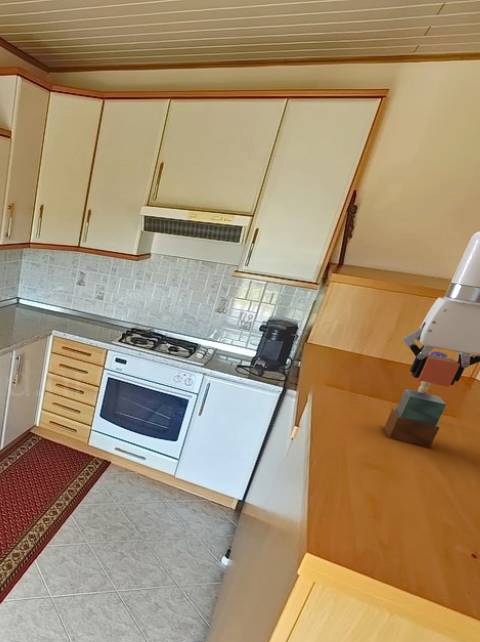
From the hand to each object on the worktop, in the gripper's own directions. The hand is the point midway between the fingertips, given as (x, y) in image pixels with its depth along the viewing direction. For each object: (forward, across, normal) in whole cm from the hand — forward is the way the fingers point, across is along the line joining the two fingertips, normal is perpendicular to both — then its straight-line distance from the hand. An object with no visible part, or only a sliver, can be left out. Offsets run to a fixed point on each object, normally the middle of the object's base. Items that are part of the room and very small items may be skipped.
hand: (431, 378), depth 104 cm
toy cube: (0, 0, 0) cm, 0 cm away
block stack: (+14, 0, 0) cm, 14 cm away
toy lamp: (+14, -4, -20) cm, 25 cm away
